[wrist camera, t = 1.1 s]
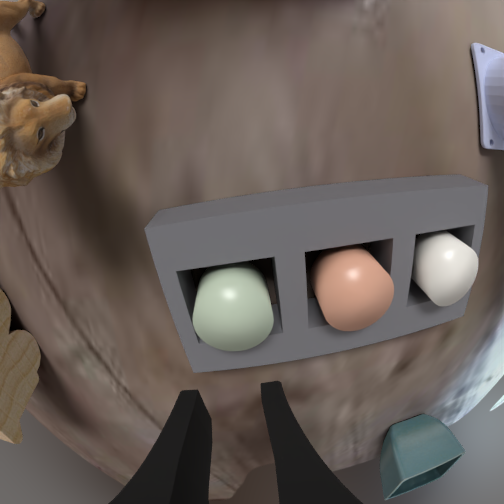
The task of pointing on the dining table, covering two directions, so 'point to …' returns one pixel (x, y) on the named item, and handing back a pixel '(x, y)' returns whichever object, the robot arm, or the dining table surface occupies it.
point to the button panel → (309, 239)
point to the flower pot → (416, 454)
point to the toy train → (15, 373)
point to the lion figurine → (30, 105)
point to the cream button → (443, 267)
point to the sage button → (233, 307)
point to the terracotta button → (351, 287)
